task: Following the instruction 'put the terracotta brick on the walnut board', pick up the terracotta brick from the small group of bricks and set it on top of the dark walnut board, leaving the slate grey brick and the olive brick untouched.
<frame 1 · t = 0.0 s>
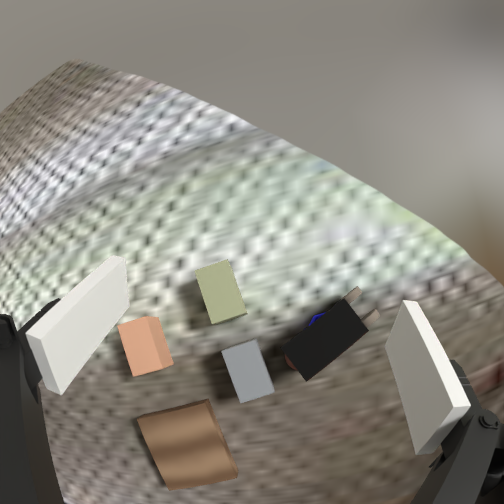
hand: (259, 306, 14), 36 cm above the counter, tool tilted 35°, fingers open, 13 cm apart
grey brick: (249, 366, 48), on the counter
olive brick: (224, 295, 50), on the counter
terracotta brick: (152, 345, 49), on the counter
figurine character: (325, 332, 49), on the counter
walnut board: (189, 444, 45), on the counter
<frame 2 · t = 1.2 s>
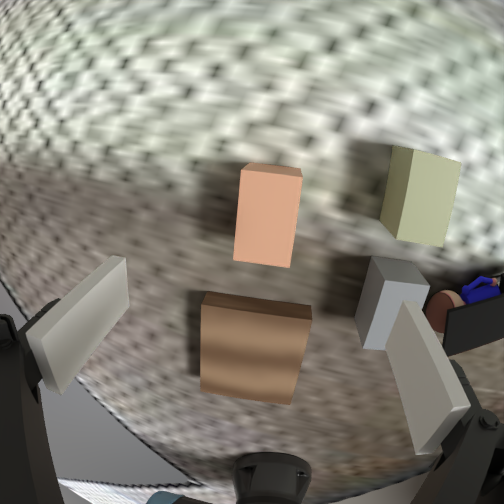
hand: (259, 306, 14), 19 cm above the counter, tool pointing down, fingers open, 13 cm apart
grey brick: (382, 290, 34), on the counter
olive brick: (407, 187, 30), on the counter
terracotta brick: (270, 204, 32), on the counter
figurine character: (471, 292, 33), on the counter
walnut board: (252, 346, 39), on the counter
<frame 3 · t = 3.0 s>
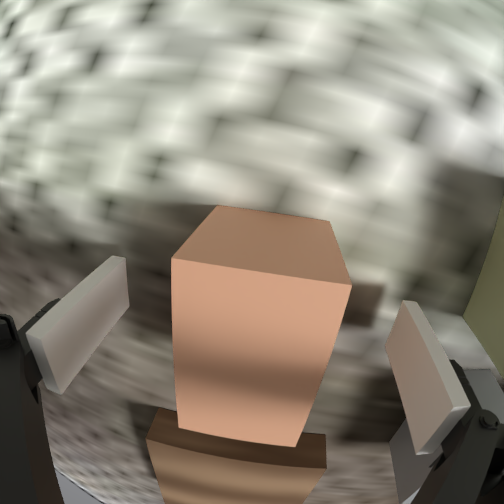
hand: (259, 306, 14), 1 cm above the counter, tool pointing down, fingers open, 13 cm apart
grey brick: (438, 408, 18), on the counter
terracotta brick: (262, 291, 16), on the counter
walnut board: (234, 467, 22), on the counter
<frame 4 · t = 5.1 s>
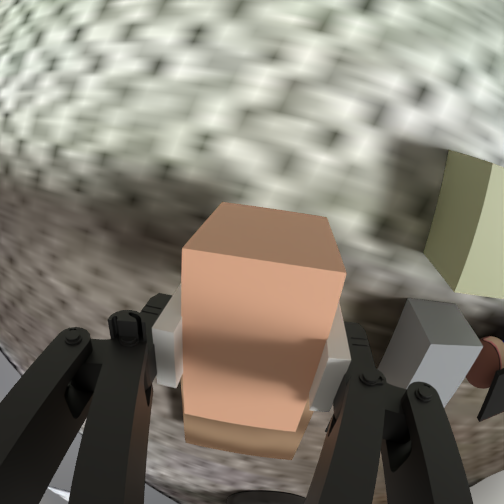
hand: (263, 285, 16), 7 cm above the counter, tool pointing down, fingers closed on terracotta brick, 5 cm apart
grey brick: (415, 338, 25), on the counter
olive brick: (462, 209, 20), on the counter
terracotta brick: (263, 284, 16), point 7 cm above the counter, touching gripper
walnut board: (248, 397, 30), on the counter
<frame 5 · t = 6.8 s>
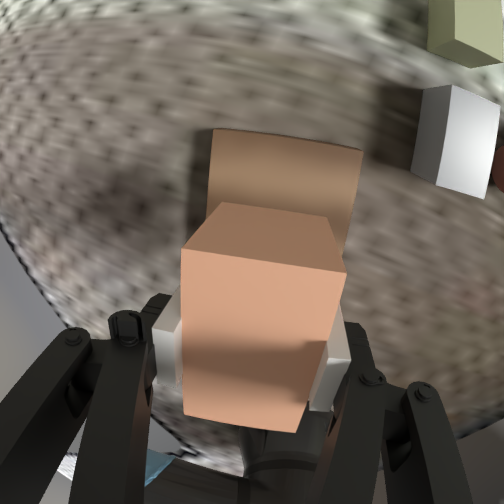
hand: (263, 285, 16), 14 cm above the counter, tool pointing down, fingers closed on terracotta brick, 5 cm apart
grey brick: (440, 137, 24), on the counter
olive brick: (450, 24, 19), on the counter
terracotta brick: (263, 284, 16), point 14 cm above the counter, touching gripper
walnut board: (278, 211, 29), on the counter
when the fingers open (4 cm above the counter, at t = 9.0 s): terracotta brick stays where it is, resting on walnut board.
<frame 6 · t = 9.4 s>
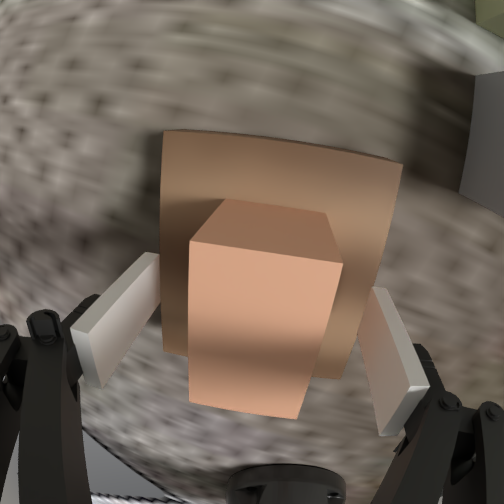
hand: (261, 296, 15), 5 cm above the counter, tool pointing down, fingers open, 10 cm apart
grey brick: (496, 144, 15), on the counter
terracotta brick: (265, 277, 17), point 3 cm above the counter, touching walnut board
walnut board: (269, 253, 20), on the counter
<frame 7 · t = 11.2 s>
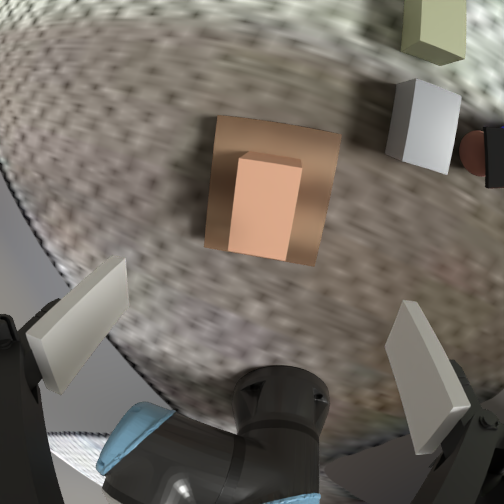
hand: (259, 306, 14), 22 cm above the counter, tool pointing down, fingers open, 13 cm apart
grey brick: (411, 124, 29), on the counter
olive brick: (423, 28, 24), on the counter
terracotta brick: (268, 194, 31), point 3 cm above the counter, touching walnut board
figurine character: (499, 150, 28), on the counter
walnut board: (270, 186, 34), on the counter
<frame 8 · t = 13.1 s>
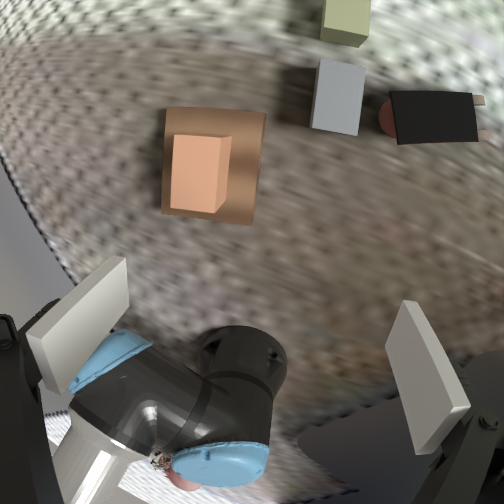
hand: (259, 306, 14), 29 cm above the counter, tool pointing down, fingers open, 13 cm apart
grey brick: (332, 100, 36), on the counter
olive brick: (341, 17, 31), on the counter
terracotta brick: (208, 166, 38), point 3 cm above the counter, touching walnut board
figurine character: (426, 116, 34), on the counter
toy: (183, 455, 69), on the counter
walnut board: (214, 162, 40), on the counter
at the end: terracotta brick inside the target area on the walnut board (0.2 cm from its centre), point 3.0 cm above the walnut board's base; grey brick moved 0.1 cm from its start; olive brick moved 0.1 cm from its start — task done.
